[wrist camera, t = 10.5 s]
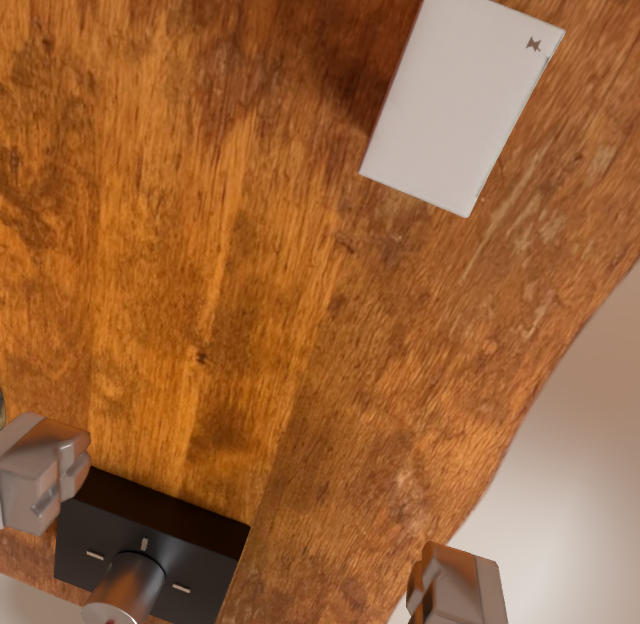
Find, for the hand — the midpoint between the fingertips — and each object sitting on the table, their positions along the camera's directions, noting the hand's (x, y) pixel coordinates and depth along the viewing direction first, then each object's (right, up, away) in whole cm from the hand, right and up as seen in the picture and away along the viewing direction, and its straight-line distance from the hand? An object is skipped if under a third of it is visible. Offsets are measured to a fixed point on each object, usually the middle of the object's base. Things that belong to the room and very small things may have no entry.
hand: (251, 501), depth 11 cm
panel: (-12, -14, +29) cm, 34 cm away
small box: (+7, +14, +11) cm, 19 cm away
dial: (-13, -16, +26) cm, 33 cm away
